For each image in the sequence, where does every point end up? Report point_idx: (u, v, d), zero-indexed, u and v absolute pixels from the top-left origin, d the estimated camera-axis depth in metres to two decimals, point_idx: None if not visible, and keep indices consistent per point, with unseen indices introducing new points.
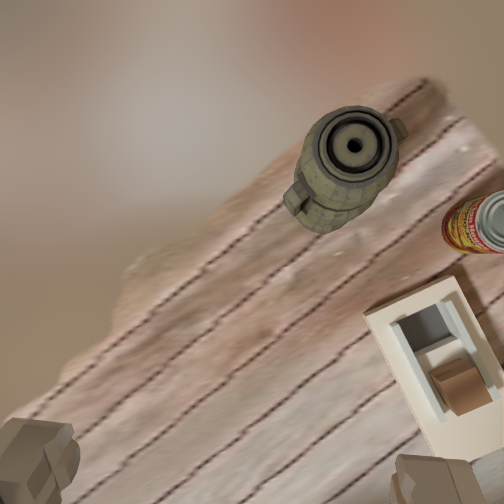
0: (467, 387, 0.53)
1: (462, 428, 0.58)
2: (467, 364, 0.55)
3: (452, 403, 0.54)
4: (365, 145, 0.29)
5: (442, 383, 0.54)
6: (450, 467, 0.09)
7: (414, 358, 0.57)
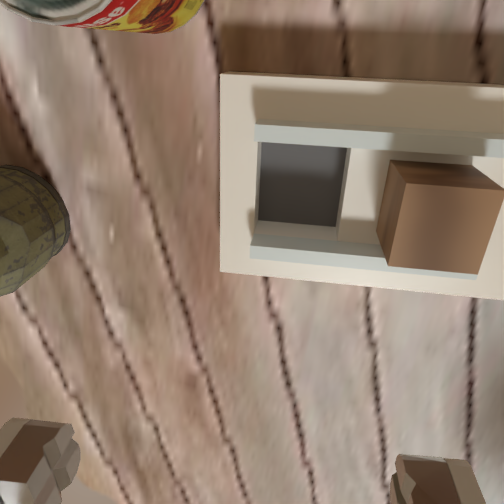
0: (436, 224, 0.22)
1: None
2: (399, 182, 0.23)
3: (445, 268, 0.23)
4: None
5: (392, 264, 0.23)
6: (450, 467, 0.09)
7: (327, 255, 0.27)
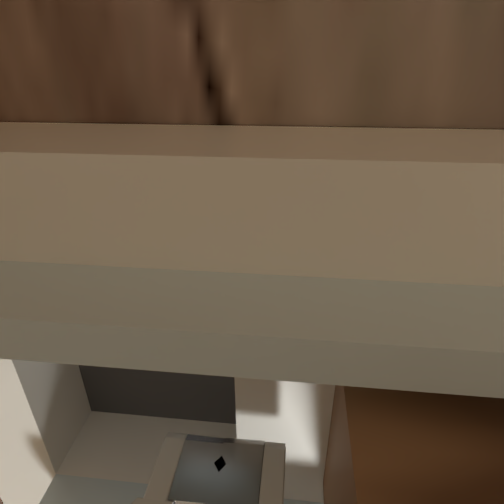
0: None
1: None
2: None
3: None
4: None
5: None
6: (265, 449, 0.09)
7: None
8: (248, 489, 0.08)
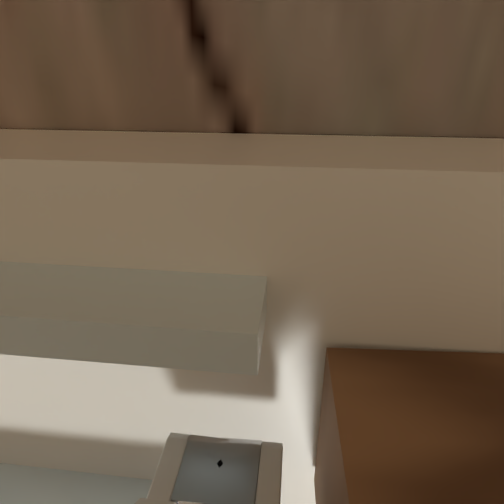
0: None
1: None
2: None
3: None
4: None
5: None
6: (262, 449, 0.09)
7: None
8: (245, 489, 0.08)
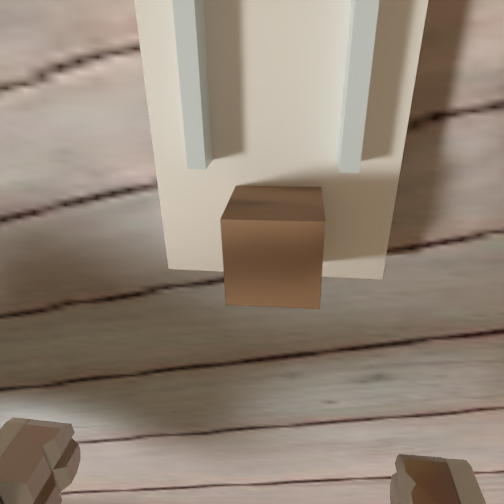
0: (278, 259, 0.20)
1: None
2: (316, 209, 0.20)
3: (227, 275, 0.21)
4: None
5: (223, 224, 0.19)
6: (450, 467, 0.09)
7: None
8: None
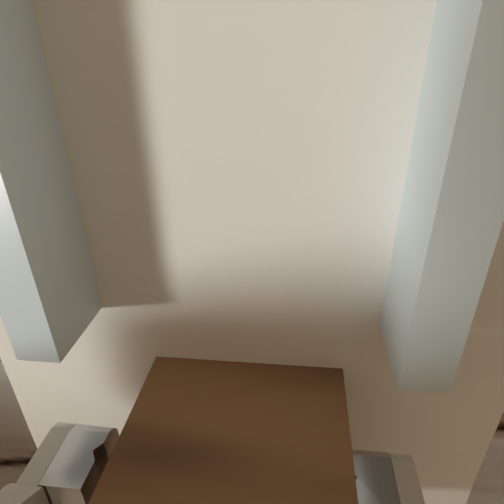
0: None
1: None
2: None
3: None
4: None
5: None
6: (393, 462, 0.09)
7: None
8: None
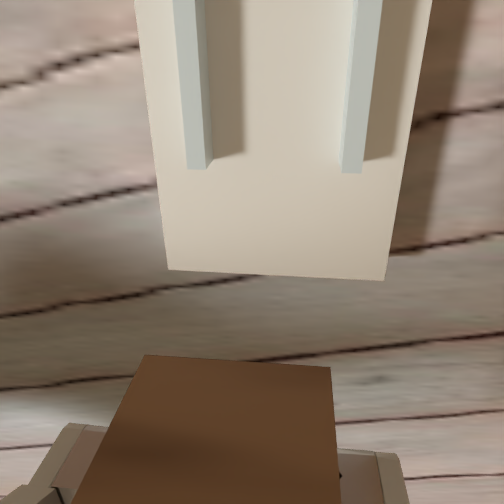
0: None
1: (244, 206, 0.24)
2: (319, 502, 0.07)
3: None
4: None
5: None
6: (379, 460, 0.09)
7: None
8: (372, 502, 0.08)
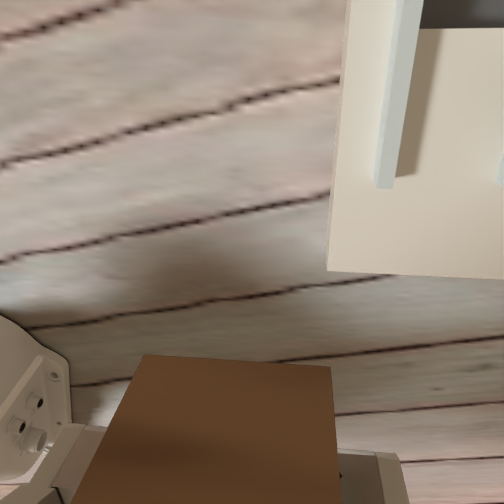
0: None
1: (406, 217, 0.29)
2: (319, 503, 0.07)
3: None
4: None
5: None
6: (379, 460, 0.09)
7: (417, 12, 0.21)
8: (372, 502, 0.08)
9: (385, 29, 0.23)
